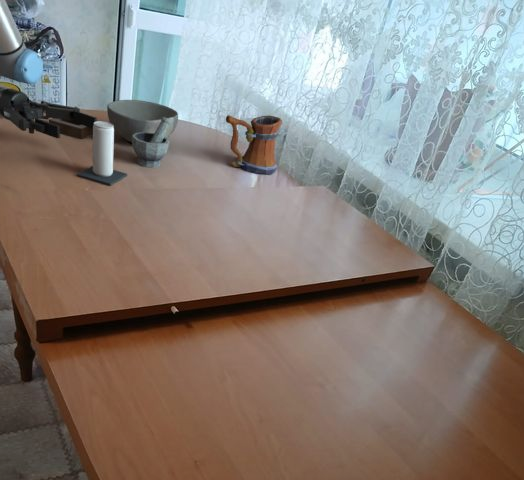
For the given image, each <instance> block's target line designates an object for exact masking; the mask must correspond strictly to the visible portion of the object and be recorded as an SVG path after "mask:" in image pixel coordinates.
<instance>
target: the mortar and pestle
mask: <svg viewBox="0 0 524 480" xmlns="http://www.w3.org/2000/svg"><path fill="white" fill-rule="evenodd" d="M170 124H171V121H170V120H169V119H167V118H165V117H162V118H161V122H160V124H159V126H158V128H157V130H156V132H155V133H147V132H140V133H135V134H134V135H133V136H132V142H131V143H132V144H131V145H132V149H133V151H134V153H135V154H136V155H137V163H138V164H139V166H143V167H145V168H154V169H155V168H160V166H161V164H162V161H161V160H162V159H163V158H164V157H165V156H166V154H167V152H168V151H169V146H170V139H169V138H166V137H165V134H166V131H167V129H168V126H169V125H170Z"/></svg>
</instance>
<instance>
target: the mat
mask: <svg viewBox="0 0 524 480" xmlns="http://www.w3.org/2000/svg"><path fill="white" fill-rule="evenodd" d="M76 177H77V178H81V179H85V180H88V181H92V182H95V183H99V184H102V185H106V186H109V187H111V186H113V185H114V184H116V183H119V182H120V181H121V180H123V179H125V178H126V177H128V173H126V172H122V171H119V170H116V169H113V173H112V175H111V176H108V177H102V176H98V175H96V174H95V173H94V172H93V165H91V166H90V167H87V168H86V169H84V170H82V171H79V172H78V173H76Z"/></svg>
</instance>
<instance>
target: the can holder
mask: <svg viewBox="0 0 524 480" xmlns="http://www.w3.org/2000/svg"><path fill="white" fill-rule="evenodd" d="M48 122H49V123H52V124H55V125H58V126H60V135H65V136H67V137H72V138H75V139H78V140H83V139H86V138H89V137H90V136H93V128H90V127H87V126H84V125H81V124H78V123H75V122H74V120H65V119H56V118H49V119H48Z"/></svg>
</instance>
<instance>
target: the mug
mask: <svg viewBox="0 0 524 480" xmlns="http://www.w3.org/2000/svg"><path fill="white" fill-rule="evenodd" d="M225 122H226V123H227V124H230V125H231V128H232V135H231V136H232V137H231V139H230V150H231V151H232V153H233V154H235V155H236V157H237V160H235V161H232V162H231V163H230V164H231V165H232V167H233V168H241V169H243V170H244V171H246V172H249V173H251V174H252V173H253V174H257V175H274V173H276V172H277V169H278V165H277V163H276V157H275V155H276V154H275V150H276V149H275V148H276V140H277V137H278V135H279V130H280V128H281V125H282V124H283V120H282V119H281V117H279V116H275V115H260V116H257V117H254V118H253V119H251V121H250V123H248V122H247V121H245V120H243V119H240V118H236V117H234V116H231V115H229V114H228V115H226V117H225ZM237 126H242V127H245V129H246V131H245V132H244V134H245V139H246V141H247V142H248V143H249V144H248V148H247V149H246V151H245V153H244V154H243V155H242V154H241V152H240V151H239V149H238V148H237V146H238V142H239V130H238V127H237Z"/></svg>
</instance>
